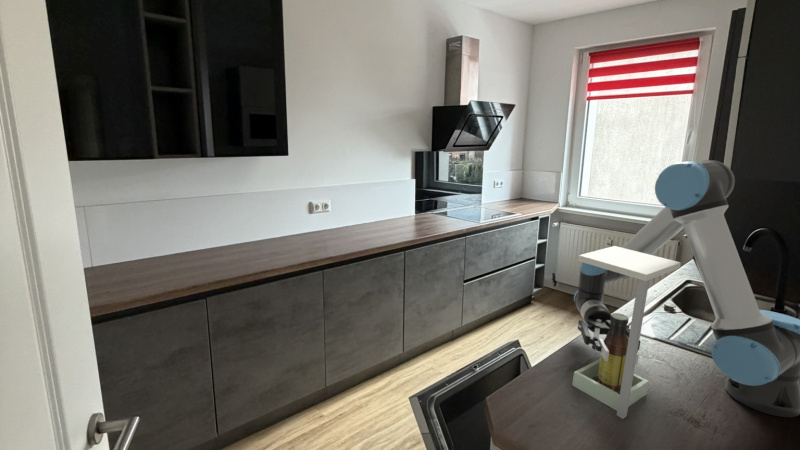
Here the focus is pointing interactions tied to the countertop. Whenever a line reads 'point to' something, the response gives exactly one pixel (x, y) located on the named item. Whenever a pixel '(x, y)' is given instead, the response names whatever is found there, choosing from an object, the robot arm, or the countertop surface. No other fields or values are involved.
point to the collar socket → (603, 393)
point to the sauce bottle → (614, 353)
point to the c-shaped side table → (643, 270)
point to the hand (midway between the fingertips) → (621, 357)
